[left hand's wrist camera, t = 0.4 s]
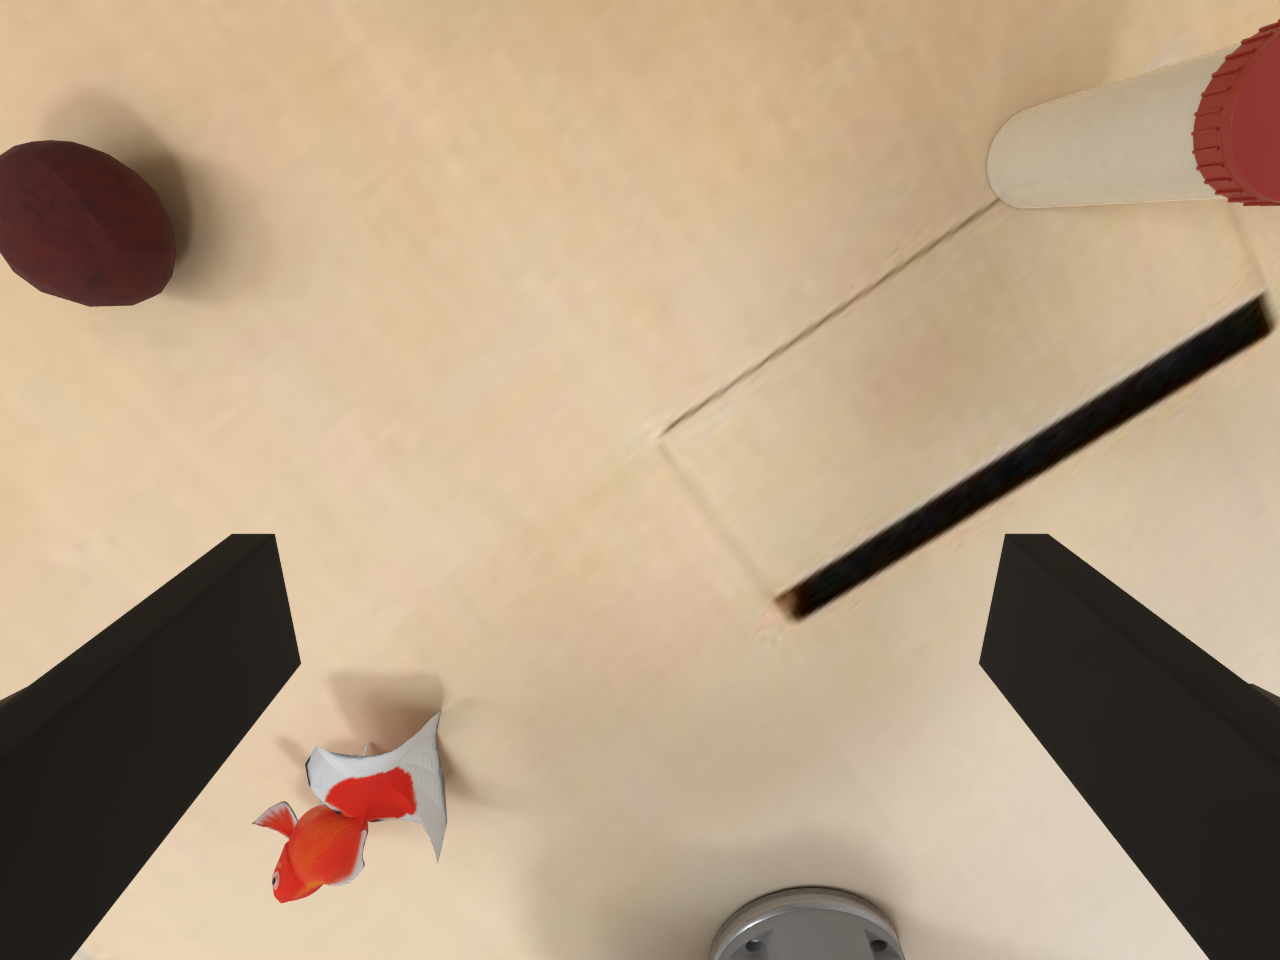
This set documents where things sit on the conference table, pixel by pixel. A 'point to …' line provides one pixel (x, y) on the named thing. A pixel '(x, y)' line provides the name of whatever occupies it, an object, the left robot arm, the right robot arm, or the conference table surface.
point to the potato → (82, 225)
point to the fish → (356, 811)
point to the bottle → (1108, 142)
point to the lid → (1243, 123)
